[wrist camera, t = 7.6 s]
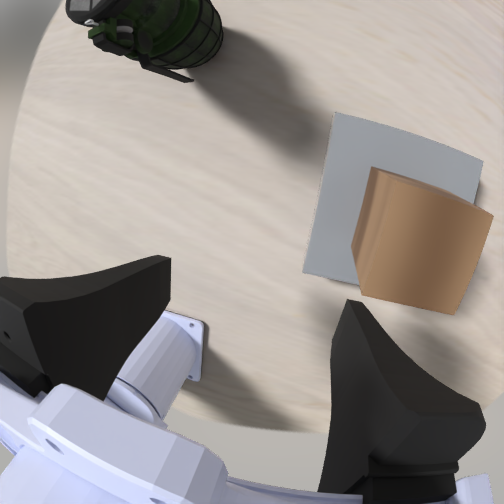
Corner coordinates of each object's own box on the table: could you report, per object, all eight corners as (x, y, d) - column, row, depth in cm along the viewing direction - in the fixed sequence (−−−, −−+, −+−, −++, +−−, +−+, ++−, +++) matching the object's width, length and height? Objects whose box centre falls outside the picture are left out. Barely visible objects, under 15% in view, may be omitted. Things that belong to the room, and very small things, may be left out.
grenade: (232, 4, 16) (153, -85, 5) (241, 80, 18) (151, 25, 7) (162, 23, 17) (51, -28, 6) (167, 95, 19) (40, 80, 8)
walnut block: (350, 246, 18) (361, 295, 12) (371, 166, 16) (396, 181, 10) (421, 264, 17) (453, 315, 11) (445, 189, 15) (493, 215, 9)
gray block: (304, 252, 22) (302, 272, 19) (332, 116, 18) (335, 112, 15) (424, 279, 21) (438, 301, 17) (460, 156, 17) (483, 161, 13)
